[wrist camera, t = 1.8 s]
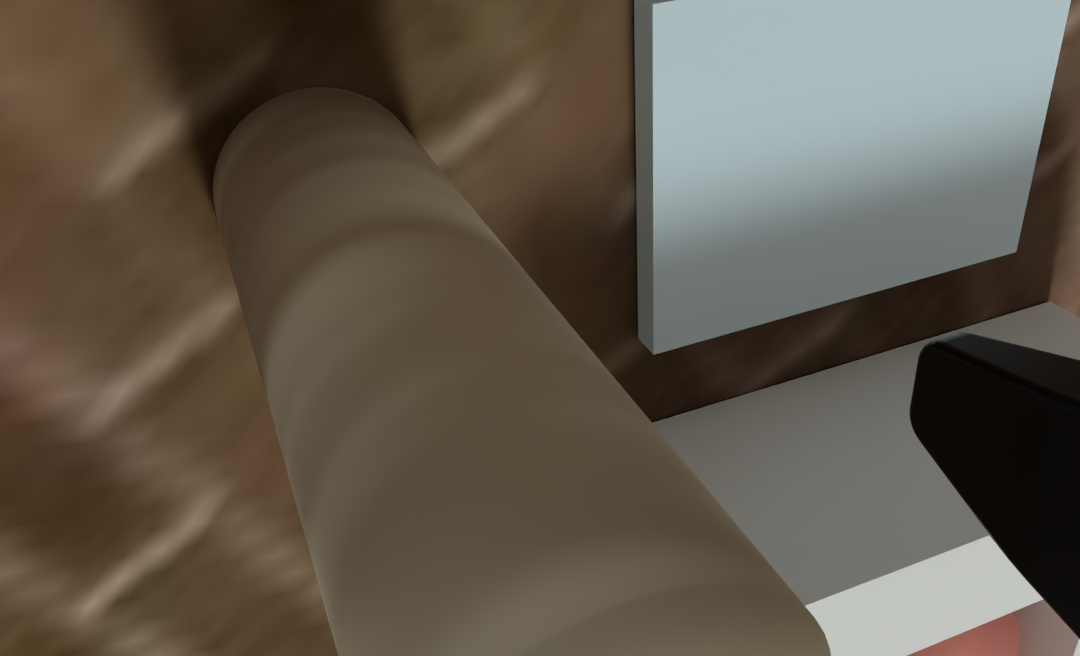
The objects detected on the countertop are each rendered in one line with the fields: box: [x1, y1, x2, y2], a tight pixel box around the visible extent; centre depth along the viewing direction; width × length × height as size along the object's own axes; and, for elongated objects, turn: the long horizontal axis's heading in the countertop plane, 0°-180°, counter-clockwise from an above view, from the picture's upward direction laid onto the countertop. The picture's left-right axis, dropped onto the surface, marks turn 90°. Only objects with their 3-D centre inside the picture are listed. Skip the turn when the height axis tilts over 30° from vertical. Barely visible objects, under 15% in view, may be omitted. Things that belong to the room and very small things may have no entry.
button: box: [907, 613, 1020, 656], centre depth 20 cm, size 5×5×2 cm
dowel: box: [213, 87, 831, 656], centre depth 10 cm, size 3×3×10 cm
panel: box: [652, 301, 1080, 656], centre depth 21 cm, size 12×10×5 cm
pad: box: [634, 0, 1071, 355], centre depth 17 cm, size 8×6×1 cm
